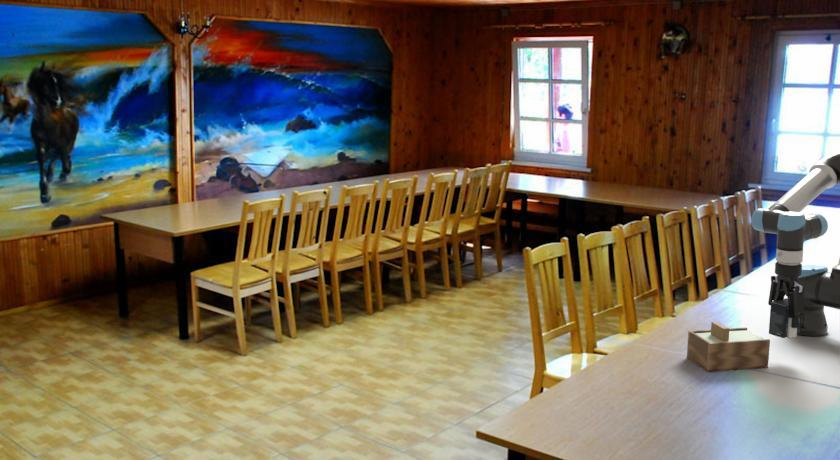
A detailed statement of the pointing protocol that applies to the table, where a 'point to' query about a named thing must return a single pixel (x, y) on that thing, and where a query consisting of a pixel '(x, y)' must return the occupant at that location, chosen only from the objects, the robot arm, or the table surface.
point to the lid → (727, 334)
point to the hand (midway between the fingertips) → (784, 332)
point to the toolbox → (727, 353)
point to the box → (780, 318)
